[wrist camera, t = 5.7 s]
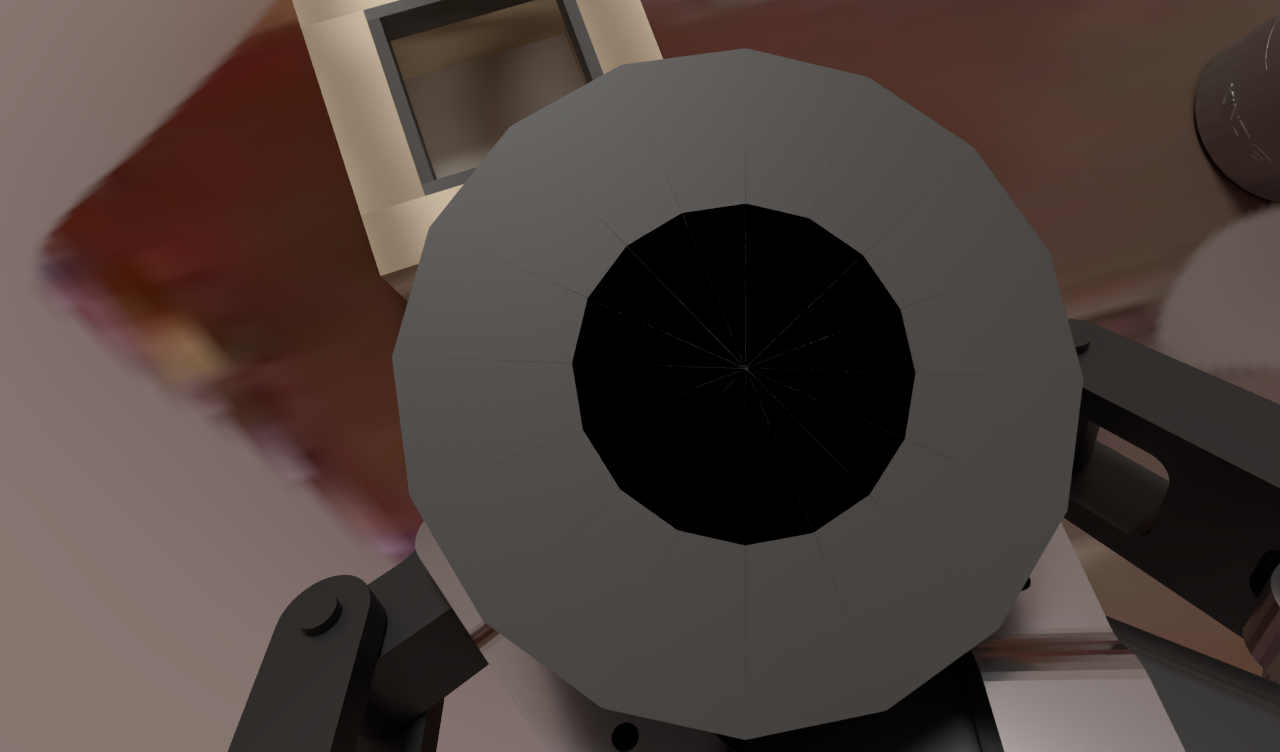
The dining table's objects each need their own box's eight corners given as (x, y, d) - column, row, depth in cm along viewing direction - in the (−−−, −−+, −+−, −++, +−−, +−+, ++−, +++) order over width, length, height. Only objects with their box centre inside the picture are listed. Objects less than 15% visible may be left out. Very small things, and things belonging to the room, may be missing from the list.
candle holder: (730, 461, 31) (1261, 384, 6) (629, 562, 30) (745, 968, 5) (634, 360, 31) (746, -107, 6) (530, 456, 30) (194, 351, 5)
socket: (585, -51, 36) (582, -161, 29) (708, 272, 33) (733, 225, 27) (322, 22, 34) (262, -78, 28) (433, 364, 32) (394, 336, 26)
